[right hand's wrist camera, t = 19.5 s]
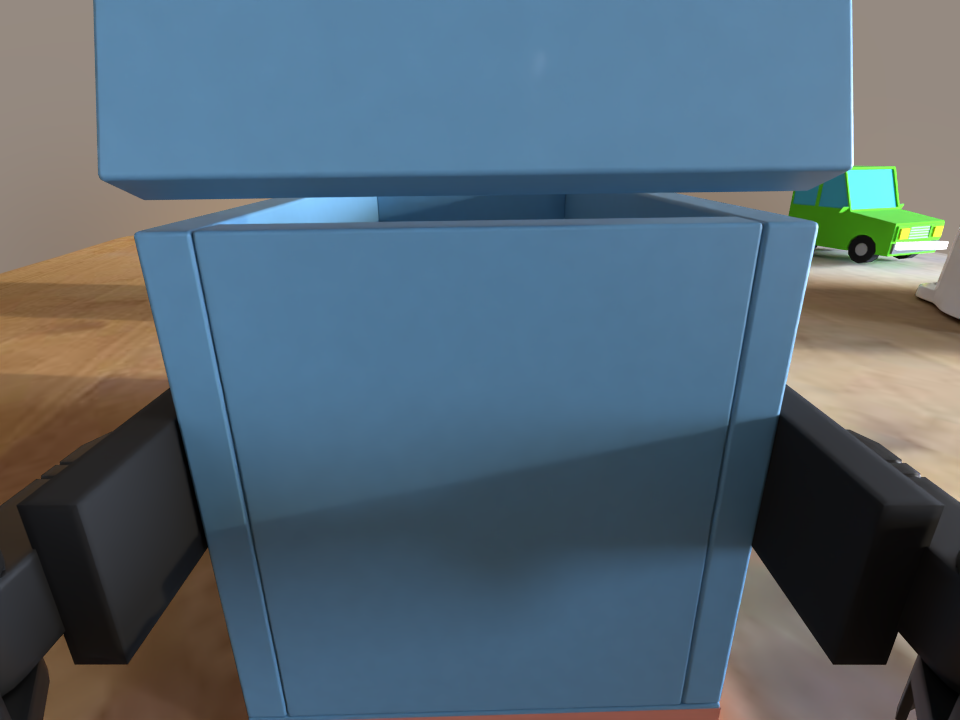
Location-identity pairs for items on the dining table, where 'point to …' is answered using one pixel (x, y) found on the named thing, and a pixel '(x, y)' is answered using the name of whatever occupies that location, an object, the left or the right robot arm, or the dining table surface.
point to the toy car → (864, 215)
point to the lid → (470, 96)
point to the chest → (479, 443)
